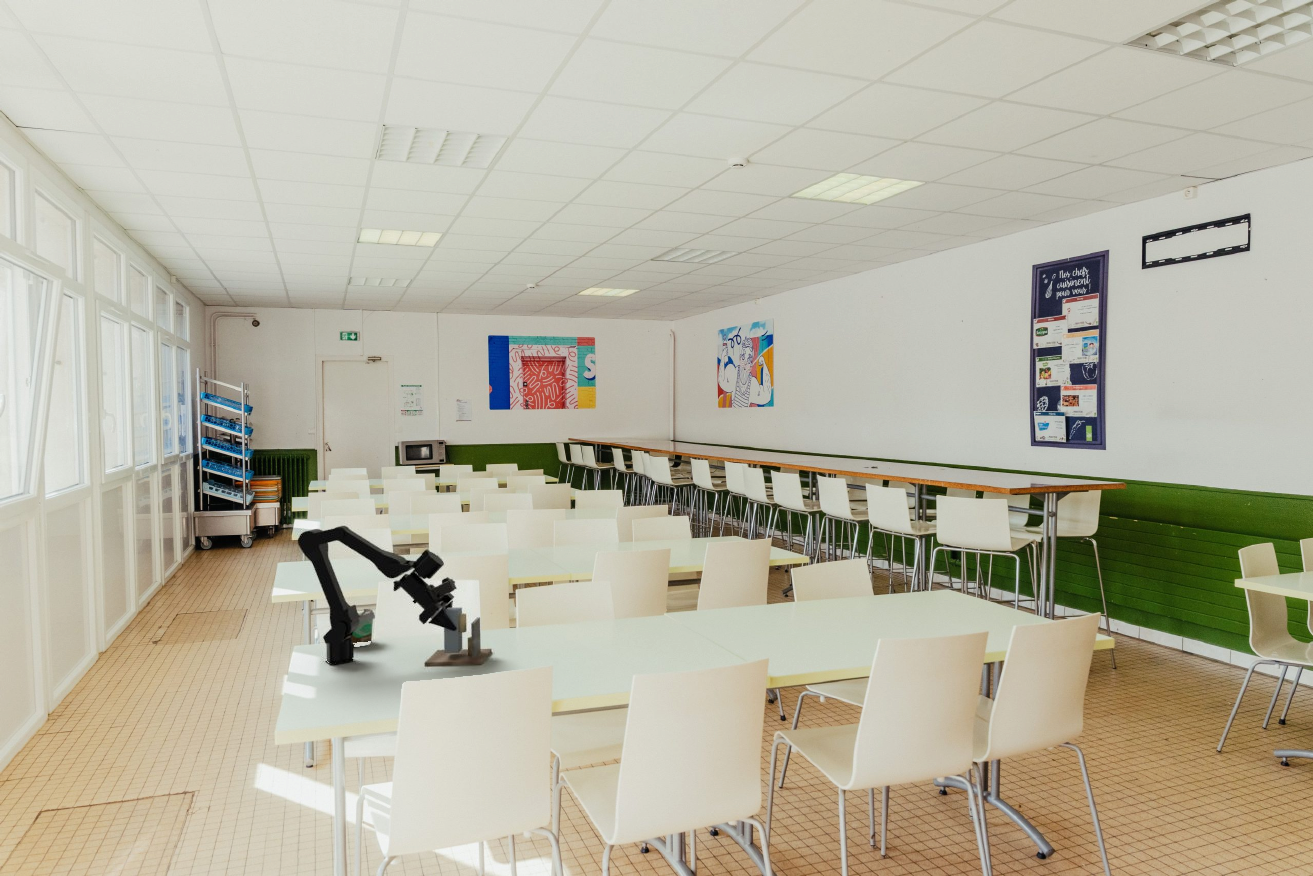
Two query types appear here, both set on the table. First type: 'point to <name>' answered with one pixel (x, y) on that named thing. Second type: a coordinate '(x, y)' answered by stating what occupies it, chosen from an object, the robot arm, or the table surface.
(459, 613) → the loose hinge leaf
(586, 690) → the table surface
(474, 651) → the hinge jig
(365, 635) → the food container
